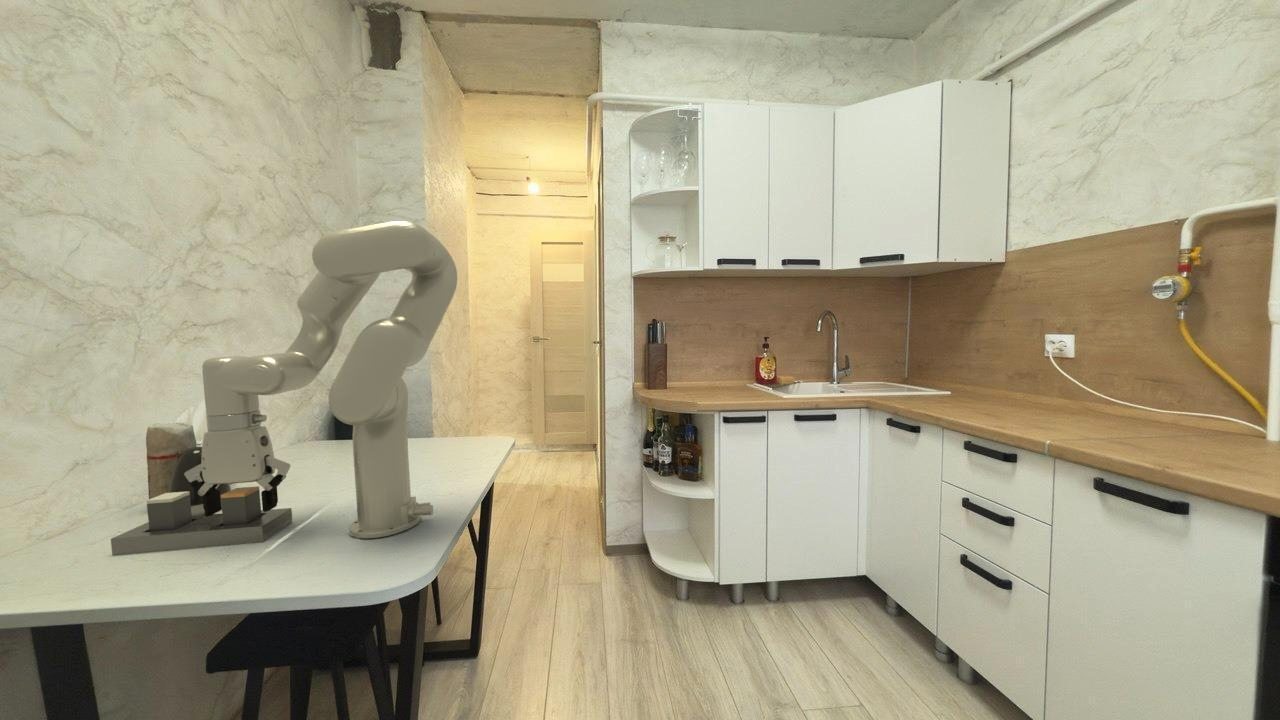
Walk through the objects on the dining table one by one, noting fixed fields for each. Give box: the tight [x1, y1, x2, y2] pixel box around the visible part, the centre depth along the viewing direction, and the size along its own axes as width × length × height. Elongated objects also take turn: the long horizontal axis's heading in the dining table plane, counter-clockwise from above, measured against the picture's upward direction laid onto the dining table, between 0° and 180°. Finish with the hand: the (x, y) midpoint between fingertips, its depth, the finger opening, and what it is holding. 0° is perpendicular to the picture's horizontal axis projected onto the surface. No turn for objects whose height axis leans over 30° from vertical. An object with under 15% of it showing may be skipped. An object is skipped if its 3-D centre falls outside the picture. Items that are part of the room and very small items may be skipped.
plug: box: [221, 485, 262, 526], centre depth 88 cm, size 4×4×9 cm
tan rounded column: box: [145, 422, 198, 500], centre depth 106 cm, size 8×8×20 cm
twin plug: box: [146, 491, 192, 532], centre depth 87 cm, size 4×4×9 cm
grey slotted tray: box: [110, 507, 293, 556], centre depth 88 cm, size 24×9×4 cm, turn 98°
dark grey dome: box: [168, 446, 232, 516], centre depth 102 cm, size 10×10×15 cm
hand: (242, 511), depth 88 cm, fingers open, 9 cm apart
